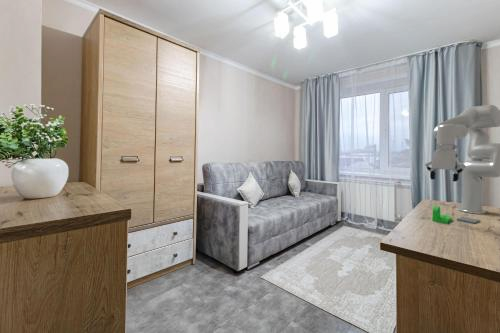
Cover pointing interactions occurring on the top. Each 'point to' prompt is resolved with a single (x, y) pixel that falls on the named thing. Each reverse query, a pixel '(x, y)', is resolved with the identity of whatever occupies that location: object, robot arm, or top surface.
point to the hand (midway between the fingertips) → (443, 180)
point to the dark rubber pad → (468, 220)
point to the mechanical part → (440, 216)
